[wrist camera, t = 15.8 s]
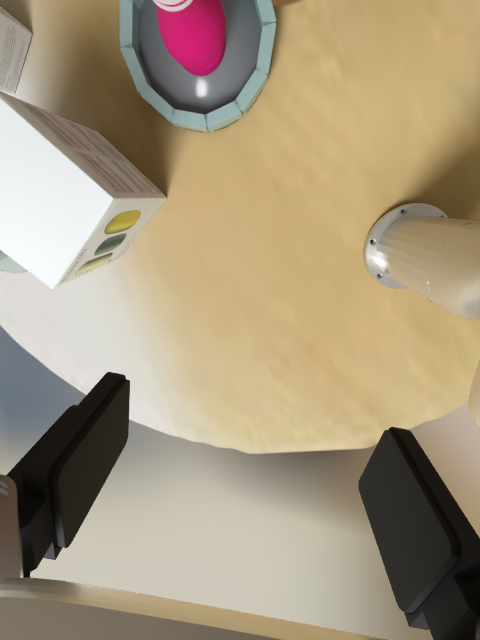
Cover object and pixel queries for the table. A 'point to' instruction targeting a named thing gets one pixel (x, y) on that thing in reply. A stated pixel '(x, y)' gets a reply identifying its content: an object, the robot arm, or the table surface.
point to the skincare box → (12, 50)
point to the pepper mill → (193, 33)
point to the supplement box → (66, 195)
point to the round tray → (200, 91)
